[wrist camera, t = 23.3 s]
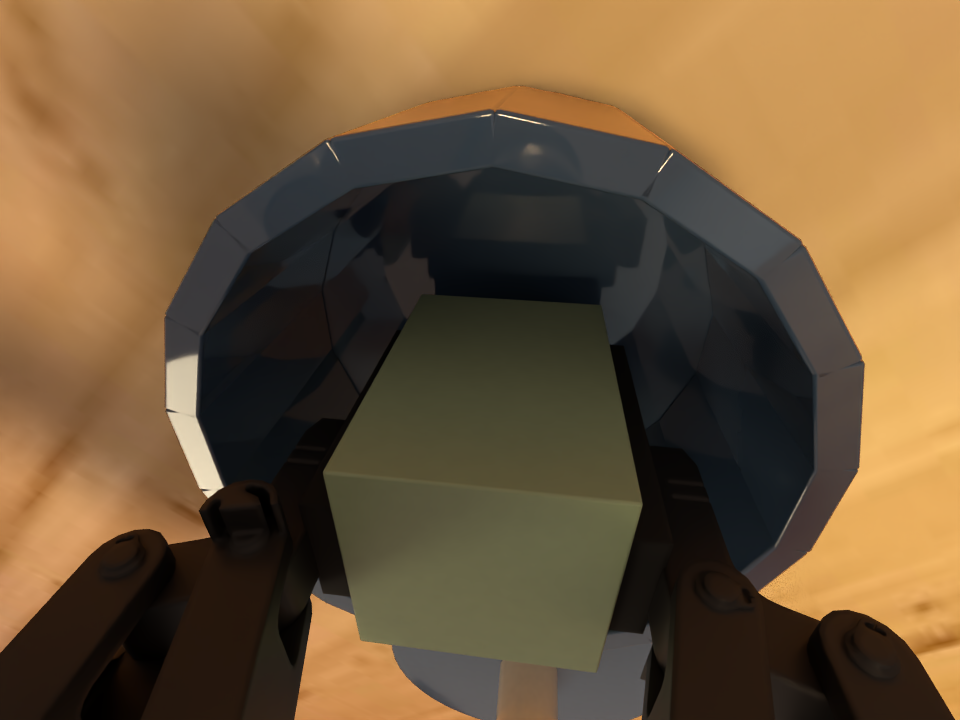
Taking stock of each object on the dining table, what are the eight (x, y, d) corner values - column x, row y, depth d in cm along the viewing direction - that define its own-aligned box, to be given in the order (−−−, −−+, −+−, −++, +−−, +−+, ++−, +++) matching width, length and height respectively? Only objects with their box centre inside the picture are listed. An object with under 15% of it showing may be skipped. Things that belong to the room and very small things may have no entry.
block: (429, 430, 16) (359, 641, 10) (421, 293, 14) (320, 472, 8) (579, 443, 16) (597, 674, 10) (602, 304, 13) (644, 504, 7)
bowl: (341, 459, 22) (256, 624, 15) (266, 80, 14) (28, 99, 7) (674, 490, 20) (731, 686, 14) (803, 89, 12) (1068, 120, 6)
